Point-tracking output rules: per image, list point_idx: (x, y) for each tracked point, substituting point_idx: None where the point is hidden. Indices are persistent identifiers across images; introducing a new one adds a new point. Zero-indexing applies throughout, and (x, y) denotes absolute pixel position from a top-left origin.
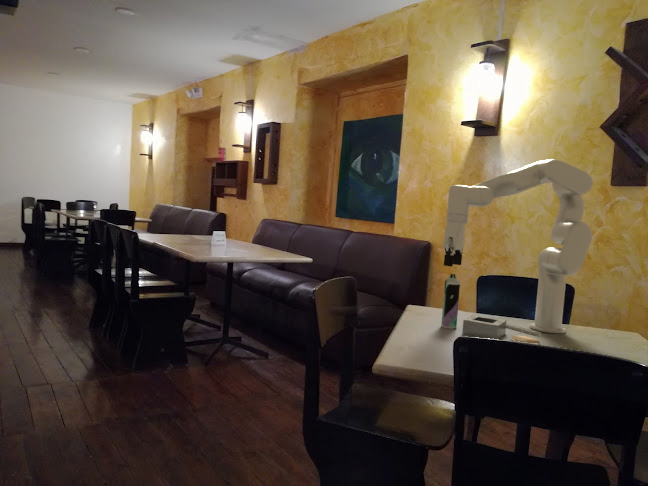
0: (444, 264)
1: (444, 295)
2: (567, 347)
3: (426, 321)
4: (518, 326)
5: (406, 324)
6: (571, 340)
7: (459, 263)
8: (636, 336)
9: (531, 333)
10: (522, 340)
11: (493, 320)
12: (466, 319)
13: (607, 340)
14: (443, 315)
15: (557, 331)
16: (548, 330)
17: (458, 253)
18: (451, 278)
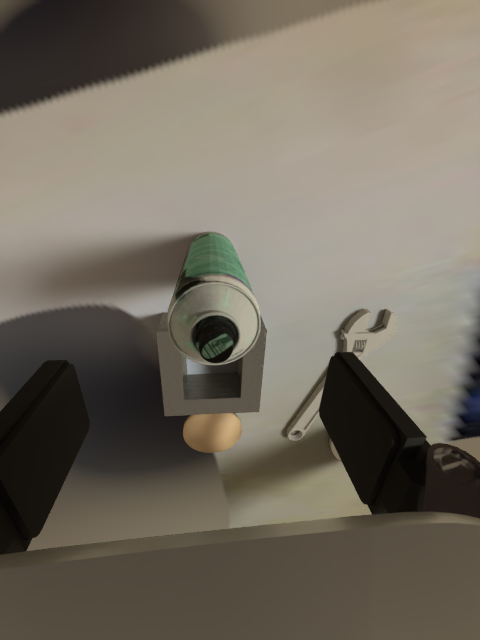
0: (45, 370)
1: (186, 266)
2: (227, 479)
3: (239, 158)
4: None
5: (120, 104)
6: (292, 474)
7: (322, 415)
8: None
9: (292, 424)
10: (192, 431)
11: (241, 386)
12: (168, 337)
13: (336, 504)
14: (189, 249)
15: (335, 456)
16: (330, 445)
17: (391, 498)
18: (190, 333)
